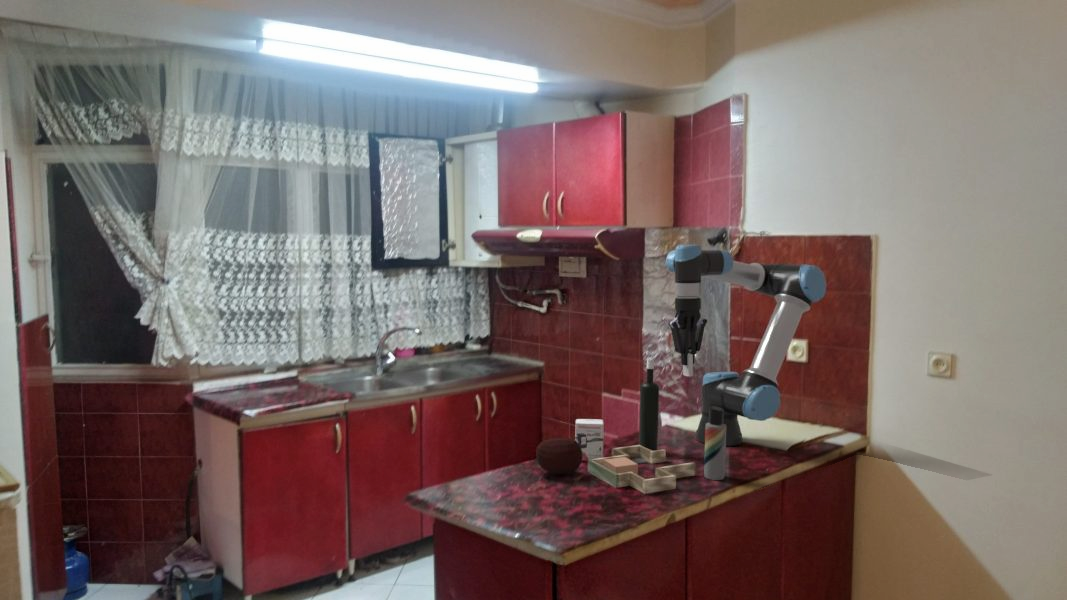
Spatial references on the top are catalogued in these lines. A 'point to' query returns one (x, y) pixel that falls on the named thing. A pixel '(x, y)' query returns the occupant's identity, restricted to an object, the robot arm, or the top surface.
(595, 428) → the ink box
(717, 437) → the lotion bottle
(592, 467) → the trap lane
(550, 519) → the top surface
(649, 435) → the wine bottle
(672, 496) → the top surface
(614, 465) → the block
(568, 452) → the potato
